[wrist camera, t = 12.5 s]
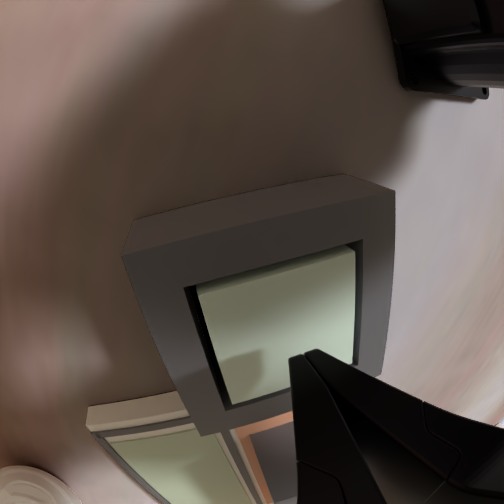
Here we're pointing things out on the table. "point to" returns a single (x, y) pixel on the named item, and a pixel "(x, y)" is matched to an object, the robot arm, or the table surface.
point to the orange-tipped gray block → (278, 461)
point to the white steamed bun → (33, 487)
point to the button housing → (251, 257)
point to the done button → (279, 318)
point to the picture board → (181, 452)
